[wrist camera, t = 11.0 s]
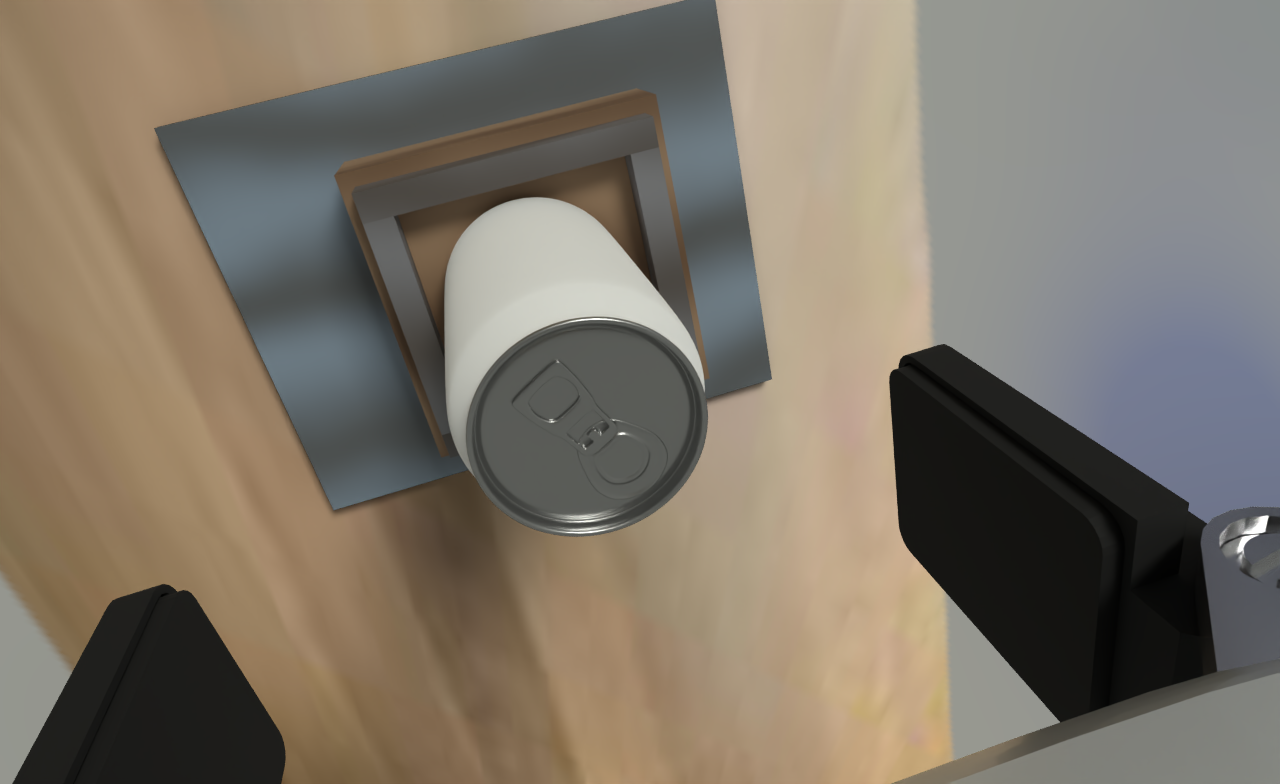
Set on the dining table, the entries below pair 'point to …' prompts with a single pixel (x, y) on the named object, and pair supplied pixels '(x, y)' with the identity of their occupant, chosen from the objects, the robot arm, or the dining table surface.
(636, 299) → the can
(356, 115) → the board
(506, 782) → the dining table surface
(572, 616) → the dining table surface
